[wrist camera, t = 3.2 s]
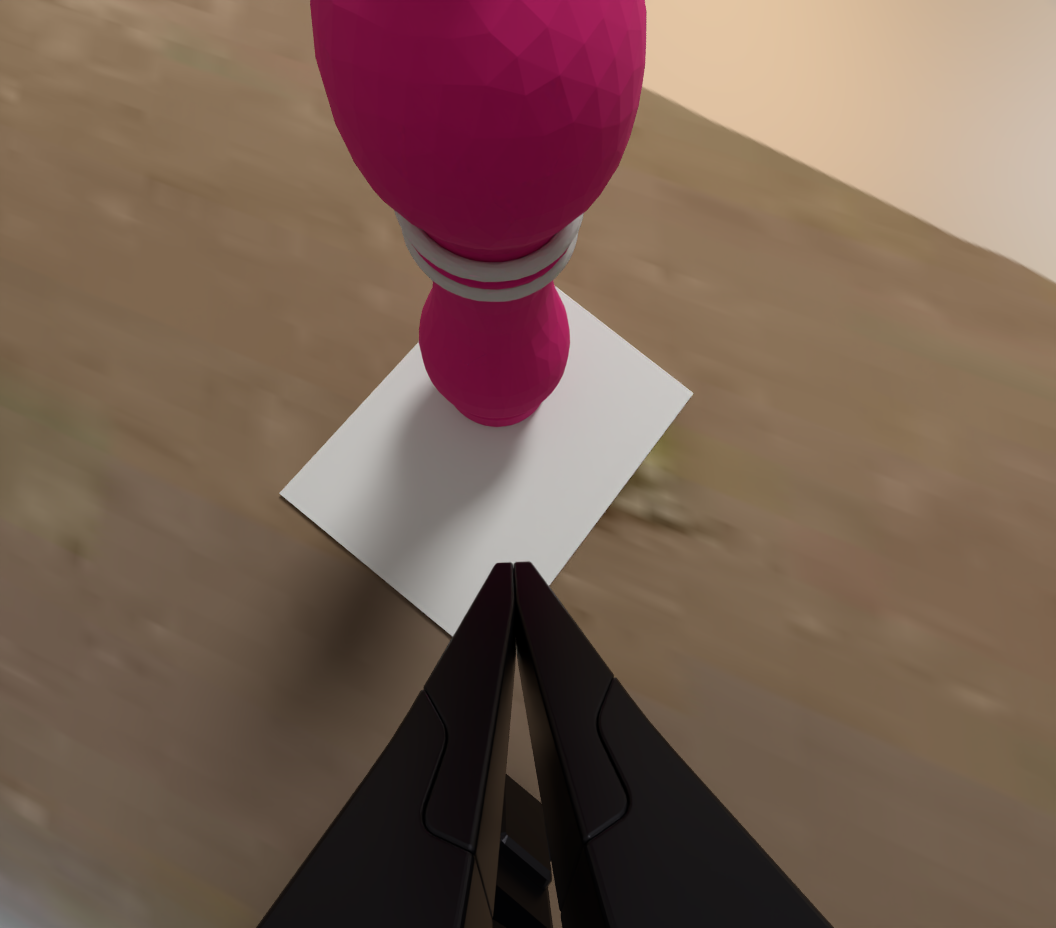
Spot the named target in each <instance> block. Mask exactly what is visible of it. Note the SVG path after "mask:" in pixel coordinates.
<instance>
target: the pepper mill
mask: <svg viewBox="0 0 1056 928" xmlns="http://www.w3.org/2000/svg"><path fill="white" fill-rule="evenodd" d="M310 7H311V17H312V27H313V37H314V47H315V57H316V60H317V64H318V67H319V71H320V74H321V77H322V81H323V84H324V87H325V91H326V94H327V97H328V101H329V104H330V107H331V111H332V114H333V117H334V121H335V124H336V126H337V128H338V130H339V132H340V134H341V136H342V138H343V140H344V142H345V144H346V146H347V148H348V150H349V152H350V154H351V156H352V159H353V161H354V163H355V164H356V166H357V167H358V168H359V170H360V171H361V173H362V174H363V176H364V177H365V179H366V180H367V181H368V183H369V184H370V186H371V187H372V189H373V190H374V191H375V192H376V193H377V194H378V196H379V197H380V198H381V199H382V200H383V201H384V202H385V203H387V204H388V205H389V206H390V207H391V208H393V209H394V211H395V215H396V217H397V219H398V222H399V224H400V226H401V228H402V233H403V236H404V240H405V243H406V246H407V248H408V250H409V252H410V254H411V255H412V257H413V259H414V260H415V262H416V263H417V264H418V266H419V267H420V268H421V269H422V271H423V272H424V273H425V274H426V275H427V276H428V277H429V278H430V279H431V280H432V281H433V288H432V289H431V291H430V293H429V295H428V298H427V300H426V302H425V304H424V307H423V310H422V314H421V319H420V327H419V346H420V350H421V355H422V359H423V363H424V366H425V369H426V371H427V374H428V376H429V378H430V380H431V382H432V383H433V385H434V386H435V387H436V389H437V390H438V391H439V392H440V393H441V394H442V395H443V396H444V397H445V398H446V399H447V400H448V401H449V402H450V403H452V404H453V405H454V406H455V407H456V408H457V410H458V411H459V412H460V413H462V414H463V415H464V416H465V417H467V418H468V419H470V420H472V421H474V422H476V423H478V424H481V425H485V426H491V427H503V426H509V425H513V424H516V423H519V422H521V421H523V420H524V419H526V418H528V417H529V416H530V415H531V414H533V413H534V412H535V411H536V409H537V408H538V407H539V406H540V404H541V403H542V402H543V401H544V400H545V399H546V398H547V397H548V396H549V395H550V394H551V393H552V392H553V391H554V389H555V388H556V386H557V385H558V384H559V382H560V380H561V378H562V376H563V374H564V371H565V367H566V364H567V360H568V355H569V348H570V329H569V323H568V318H567V313H566V310H565V306H564V304H563V302H562V300H561V298H560V296H559V294H558V292H557V290H556V288H555V286H554V283H553V280H554V279H555V278H556V277H557V276H558V274H559V273H560V272H561V271H562V270H563V269H564V267H565V266H566V264H567V263H568V261H569V259H570V257H571V256H572V253H573V251H574V248H575V245H576V241H577V237H578V231H579V228H580V226H581V222H582V219H583V214H584V212H585V211H587V209H588V208H589V207H590V206H591V205H592V204H593V202H594V201H595V200H596V199H597V198H598V197H599V195H600V194H601V193H602V191H603V190H604V188H605V186H606V185H607V183H608V182H609V180H610V178H611V177H612V175H613V174H614V172H615V171H616V169H617V167H618V166H619V163H620V161H621V158H622V156H623V153H624V151H625V148H626V146H627V143H628V141H629V138H630V135H631V131H632V128H633V124H634V121H635V117H636V113H637V110H638V106H639V100H640V94H641V89H642V82H643V76H644V69H645V54H646V6H645V0H310Z"/></svg>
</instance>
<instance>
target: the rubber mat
mask: <svg viewBox="0 0 1056 928" xmlns="http://www.w3.org/2000/svg"><path fill="white" fill-rule="evenodd" d="M555 288H556V290H557V292H558V294H559V296H560V298H561V300H562V302H563V304H564V306H565V310H566V313H567V318H568V323H569V329H570V348H569V355H568V360H567V364H566V367H565V371H564V374H563V376H562V378H561V380H560V382H559V384H558V385H557V386H556V388H555V389H554V391H553V392H552V393H551V394H550V395H549V396H548V397H547V398H546V399H545V400H544V401H543V402H542V403H541V404H540V406H539V407H538V408H537V409H536V411H535V412H534V413H533V414H531V415H530V416H529V417H528V418H526V419H524V420H523V421H521V422H519V423H516V424H513V425H509V426H503V427H491V426H485V425H481V424H478V423H476V422H474V421H472V420H470V419H468V418H467V417H465V416H464V415H463V414H462V413H460V412H459V411H458V410H457V408H456V407H455V406H454V405H453V404H452V403H450V402H449V401H448V400H447V399H446V398H445V397H444V396H443V395H442V394H441V393H440V392H439V391H438V390H437V389H436V387H435V386H434V385H433V383H432V382H431V380H430V378H429V376H428V374H427V371H426V369H425V366H424V363H423V359H422V355H421V350H420V346H419V342H418V343H417V344H416V345H415V347H414V348H413V349H412V350H411V351H410V352H409V353H408V354H407V355H406V356H405V357H404V358H403V360H402V361H401V362H400V363H399V364H398V365H397V366H396V367H395V368H394V369H393V370H392V372H391V373H390V374H389V375H388V376H387V377H386V378H385V379H384V380H383V381H382V382H381V383H380V385H379V386H378V387H377V388H376V389H375V390H374V391H373V392H372V393H371V394H370V395H369V397H368V398H367V399H366V400H365V401H364V402H363V403H362V404H361V405H360V406H359V407H358V408H357V410H356V411H355V412H354V413H353V414H352V415H351V416H350V417H349V418H348V419H347V420H346V422H345V423H344V424H343V425H342V426H341V427H340V428H339V429H338V430H337V431H336V432H335V433H334V435H333V436H332V437H331V438H330V439H329V440H328V441H327V442H326V443H325V444H324V445H323V446H322V448H321V449H320V450H319V451H318V452H317V453H316V454H315V455H314V456H313V457H312V458H311V460H310V461H309V462H308V463H307V464H306V465H305V466H304V467H303V468H302V469H301V470H300V471H299V473H298V474H297V475H296V476H295V477H294V478H293V479H292V480H291V481H290V482H289V483H288V485H287V486H286V487H285V488H284V489H283V490H282V491H281V492H280V493H279V494H281V495H282V496H283V497H284V498H285V499H287V500H288V501H289V502H290V503H292V504H293V505H294V506H295V507H296V508H298V509H299V510H300V511H301V512H302V513H304V514H305V515H306V516H307V517H308V518H310V519H311V520H312V521H313V522H315V523H316V524H317V525H318V526H319V527H321V528H322V529H323V530H324V531H325V532H327V533H328V534H329V535H330V536H331V537H333V538H334V539H335V540H336V541H338V542H339V543H340V544H341V545H342V546H344V547H345V548H346V549H347V550H348V551H350V552H351V553H352V554H353V555H354V556H356V557H357V558H358V559H359V560H360V561H362V562H363V563H364V564H365V565H367V566H368V567H369V568H370V569H371V570H373V571H374V572H375V573H376V574H377V575H379V576H380V577H381V578H382V579H383V580H385V581H386V582H387V583H388V584H390V585H391V586H392V587H393V588H394V589H396V590H397V591H398V592H399V593H400V594H402V595H403V596H404V597H405V598H406V599H408V600H409V601H410V602H411V603H413V604H414V605H415V606H416V607H417V608H419V609H420V610H421V611H422V612H423V613H425V614H426V615H427V616H428V617H429V618H431V619H432V620H433V621H434V622H436V623H437V624H438V625H439V626H440V627H442V628H443V629H444V630H445V631H446V632H448V633H449V634H450V635H451V636H452V637H453V635H454V634H455V632H456V630H457V628H458V627H459V625H460V623H461V622H462V620H463V618H464V616H465V615H466V613H467V611H468V610H469V608H470V606H471V604H472V603H473V601H474V599H475V597H476V596H477V594H478V592H479V591H480V589H481V587H482V585H483V584H484V582H485V580H486V579H487V577H488V575H489V573H490V572H491V570H492V568H493V567H494V565H495V564H496V563H502V562H511V563H513V569H514V563H515V562H525V561H530V562H531V563H532V564H533V565H534V566H535V568H536V569H537V570H538V572H539V573H540V575H541V576H542V577H543V579H544V580H545V581H546V583H547V584H548V585H550V584H551V583H552V581H553V580H554V579H555V577H556V576H557V575H558V573H559V572H560V571H561V569H562V568H563V567H564V565H565V564H566V563H567V561H568V560H569V559H570V557H571V556H572V555H573V553H574V552H575V551H576V549H577V548H578V547H579V545H580V544H581V543H582V541H583V540H584V539H585V537H586V536H587V535H588V533H589V532H590V531H591V529H592V528H593V527H594V525H595V524H596V523H597V521H598V520H599V519H600V517H601V516H602V515H603V513H604V512H605V511H606V509H607V508H608V507H609V505H610V504H611V503H612V501H613V500H614V499H615V497H616V496H617V495H618V493H619V492H620V491H621V489H622V488H623V487H624V485H625V484H626V483H627V481H628V480H629V479H630V477H631V476H632V475H633V473H634V472H635V471H636V469H637V468H638V467H639V465H640V464H641V463H642V461H643V460H644V459H645V457H646V456H647V455H648V453H649V452H650V451H651V449H652V448H653V447H654V445H655V444H656V443H657V441H658V440H659V439H660V437H661V436H662V435H663V433H664V432H665V431H666V429H667V428H668V427H669V425H670V424H671V423H672V421H673V420H674V419H675V417H676V416H677V415H678V413H679V412H680V411H681V409H682V408H683V407H684V405H685V404H686V403H687V401H688V400H689V399H690V397H691V396H692V395H693V393H692V392H691V391H690V390H689V389H687V388H686V387H685V386H683V385H682V384H681V383H680V382H678V381H677V380H676V379H674V378H673V377H672V376H671V375H669V374H668V373H667V372H665V371H664V370H663V369H661V368H660V367H659V366H658V365H656V364H655V363H654V362H652V361H651V360H650V359H649V358H647V357H646V356H645V355H643V354H642V353H641V352H640V351H638V350H637V349H636V348H634V347H633V346H632V345H631V344H629V343H628V342H627V341H625V340H624V339H623V338H621V337H620V336H619V335H618V334H616V333H615V332H614V331H612V330H611V329H610V328H609V327H607V326H606V325H605V324H603V323H602V322H601V321H600V320H598V319H597V318H596V317H594V316H593V315H592V314H591V313H589V312H588V311H587V310H585V309H584V308H583V307H581V306H580V305H579V304H578V303H576V302H575V301H574V300H572V299H571V298H570V297H569V296H567V295H566V294H565V293H563V292H562V291H561V290H560V289H558V288H557V287H556V286H555Z"/></svg>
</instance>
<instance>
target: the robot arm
mask: <svg viewBox="0 0 1056 928" xmlns="http://www.w3.org/2000/svg"><path fill="white" fill-rule="evenodd" d="M516 650H517V659H518V666H519V672H520V678H521V684H522V690H523V696H524V702H525V708H526V714H527V720H528V725H529V731H530V737H531V743H532V749H533V755H534V761H535V767H536V773H537V779H538V785H539V791H540V797H541V803H542V804H541V803H540V802H539V801H538V800H537V799H536V798H534V797H533V796H532V795H531V794H530V793H528V792H527V791H526V790H525V789H524V788H522V787H521V786H520V785H519V784H518V783H516V782H515V781H514V780H513V779H512V778H510V777H509V776H508V775H507V774H506V764H507V753H508V742H509V730H510V719H511V708H512V696H513V685H514V673H515V661H516ZM550 861H551V862H552V868H553V874H554V880H555V886H556V892H557V898H558V903H559V909H560V911H561V921H562V927H563V928H834V927H833V926H832V925H831V924H830V923H829V922H828V921H827V919H826V918H825V917H824V916H823V915H822V914H821V913H820V912H819V911H818V909H817V908H816V907H815V906H814V905H813V904H812V903H811V902H810V901H809V899H808V898H807V897H806V896H805V895H804V894H803V893H802V892H801V891H800V889H799V888H798V887H797V886H796V885H795V884H794V883H793V882H792V881H791V879H790V878H789V877H788V876H787V875H786V874H785V873H784V872H783V871H782V869H781V868H780V867H779V866H778V865H777V864H776V863H775V862H774V861H773V859H772V858H771V857H770V856H769V855H768V854H767V853H766V852H765V850H764V849H763V848H762V847H761V846H760V845H759V844H758V843H757V842H756V840H755V839H754V838H753V837H752V836H751V835H750V834H749V833H748V832H747V830H746V829H745V828H744V827H743V826H742V825H741V824H740V823H739V822H738V820H737V819H736V818H735V817H734V816H733V815H732V814H731V813H730V812H729V810H728V809H727V808H726V807H725V806H724V805H723V804H722V803H721V802H720V800H719V799H718V798H717V797H716V796H715V795H714V794H713V793H712V792H711V790H710V789H709V788H708V787H707V786H706V785H705V784H704V783H703V781H702V780H701V779H700V778H699V777H698V776H697V775H696V774H695V773H694V771H693V770H692V769H691V768H690V767H689V766H688V765H687V764H686V763H685V761H684V760H683V759H682V758H681V757H680V756H679V755H678V754H677V753H676V751H675V750H674V749H673V748H672V747H671V746H670V745H669V743H668V742H667V741H666V740H665V739H664V738H663V736H662V735H661V734H660V733H659V732H658V731H657V729H656V728H655V727H654V726H653V725H652V724H651V722H650V721H649V720H648V719H647V717H646V716H645V715H644V714H643V712H642V711H641V710H640V708H639V707H638V706H637V705H636V703H635V702H634V701H633V699H632V698H631V697H630V696H629V694H628V693H627V691H626V690H625V689H624V687H623V686H622V685H621V683H620V682H619V680H618V679H617V678H614V675H613V673H612V672H611V670H610V669H609V668H608V666H607V665H606V664H605V662H604V661H603V659H602V658H601V657H600V655H599V654H598V653H597V651H596V650H595V648H594V647H593V646H592V644H591V643H590V642H589V640H588V639H587V637H586V636H585V635H584V633H583V632H582V631H581V629H580V628H579V627H578V625H577V624H576V622H575V621H574V620H573V618H572V617H571V616H570V614H569V613H568V611H567V610H566V609H565V607H564V606H563V605H562V603H561V602H560V601H559V599H558V598H557V596H556V595H555V594H554V592H553V591H552V590H551V588H550V587H549V585H548V584H547V583H546V581H545V580H544V579H543V577H542V576H541V575H540V573H539V572H538V570H537V569H536V568H535V566H534V565H533V564H532V563H531V562H530V561H525V562H515V563H514V569H513V563H511V562H502V563H496V564H495V565H494V567H493V568H492V570H491V572H490V573H489V575H488V577H487V579H486V580H485V582H484V584H483V585H482V587H481V589H480V591H479V592H478V594H477V596H476V597H475V599H474V601H473V603H472V604H471V606H470V608H469V610H468V611H467V613H466V615H465V616H464V618H463V620H462V622H461V623H460V625H459V627H458V628H457V630H456V632H455V634H454V635H453V637H452V639H451V640H450V642H449V644H448V646H447V647H446V649H445V651H444V653H443V654H442V656H441V658H440V659H439V661H438V663H437V665H436V666H435V668H434V670H433V671H432V673H431V675H430V677H429V678H428V680H427V682H426V683H425V685H424V690H421V691H420V693H419V695H418V696H417V698H416V700H415V701H414V703H413V705H412V707H411V708H410V710H409V712H408V713H407V715H406V716H405V718H404V720H403V721H402V723H401V724H400V726H399V728H398V729H397V731H396V732H395V734H394V736H393V737H392V739H391V740H390V742H389V743H388V745H387V746H386V748H385V749H384V751H383V752H382V753H381V755H380V756H379V758H378V759H377V761H376V762H375V764H374V765H373V766H372V768H371V769H370V771H369V772H368V774H367V775H366V776H365V778H364V779H363V781H362V782H361V783H360V785H359V786H358V788H357V789H356V790H355V792H354V793H353V794H352V796H351V797H350V799H349V800H348V801H347V803H346V804H345V805H344V807H343V808H342V810H341V811H340V812H339V814H338V815H337V817H336V818H335V819H334V821H333V822H332V823H331V825H330V826H329V828H328V829H327V830H326V832H325V833H324V834H323V836H322V837H321V839H320V840H319V841H318V843H317V844H316V846H315V847H314V848H313V850H312V851H311V852H310V854H309V855H308V857H307V858H306V859H305V861H304V862H303V863H302V865H301V866H300V868H299V869H298V870H297V872H296V873H295V875H294V876H293V877H292V879H291V880H290V881H289V883H288V884H287V886H286V887H285V888H284V890H283V891H282V892H281V894H280V895H279V897H278V898H277V899H276V901H275V902H274V904H273V905H272V906H271V908H270V909H269V910H268V912H267V913H266V915H265V916H264V917H263V919H262V920H261V921H260V923H259V924H258V926H257V927H256V928H553V924H552V916H551V908H550V900H549V892H548V886H549V884H550V883H551V881H552V873H551V865H550Z"/></svg>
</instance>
